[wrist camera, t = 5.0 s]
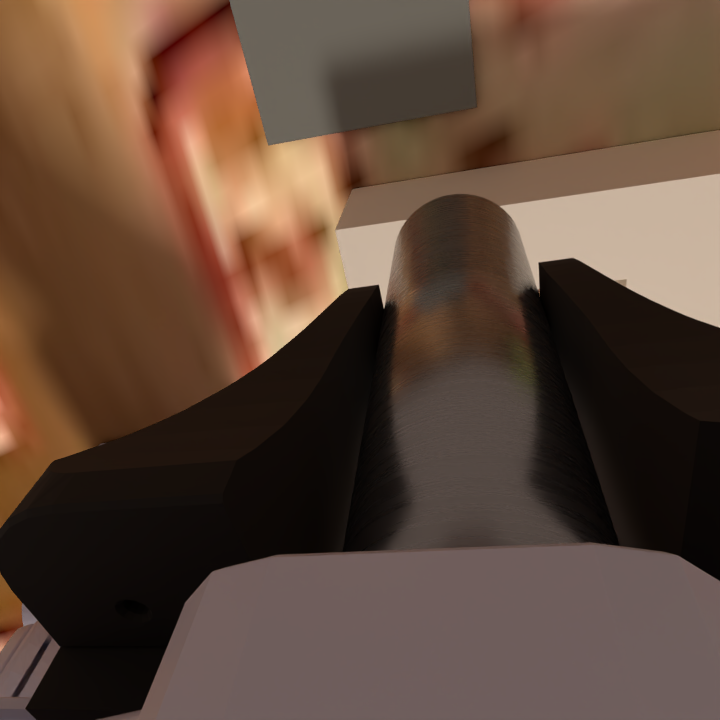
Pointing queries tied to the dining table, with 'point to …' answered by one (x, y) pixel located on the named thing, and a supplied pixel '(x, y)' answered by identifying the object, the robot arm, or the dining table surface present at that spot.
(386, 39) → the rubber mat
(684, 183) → the block
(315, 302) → the dining table surface
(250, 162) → the dining table surface
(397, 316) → the steel pin
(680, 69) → the dining table surface
